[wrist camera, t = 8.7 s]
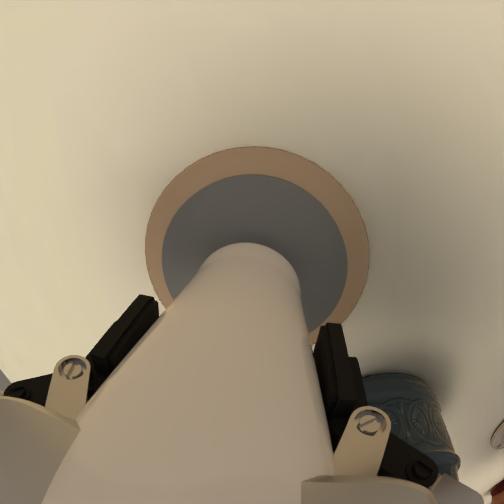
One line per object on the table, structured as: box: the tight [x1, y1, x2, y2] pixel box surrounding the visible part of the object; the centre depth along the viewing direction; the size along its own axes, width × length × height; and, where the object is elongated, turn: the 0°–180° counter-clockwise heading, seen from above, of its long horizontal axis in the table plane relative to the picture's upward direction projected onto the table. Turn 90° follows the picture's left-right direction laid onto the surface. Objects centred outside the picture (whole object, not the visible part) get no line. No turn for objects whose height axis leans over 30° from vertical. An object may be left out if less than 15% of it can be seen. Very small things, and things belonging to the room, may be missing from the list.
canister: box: [362, 373, 461, 481], centre depth 15 cm, size 13×13×18 cm
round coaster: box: [145, 147, 369, 345], centre depth 18 cm, size 14×14×1 cm
